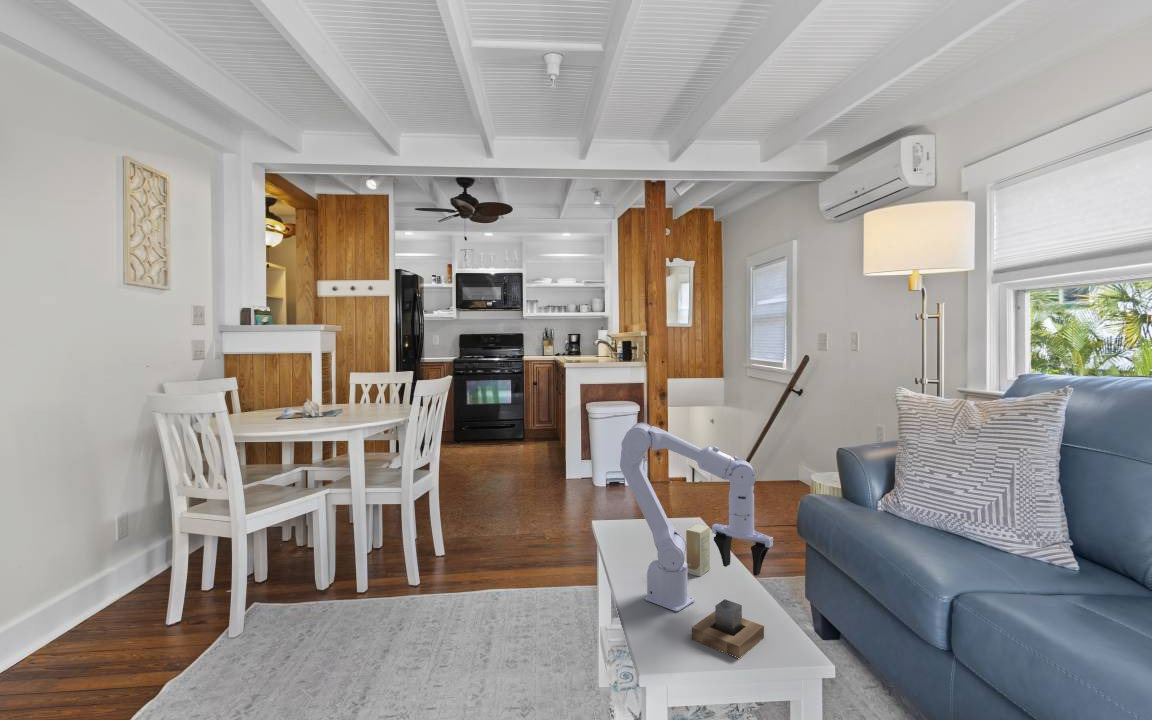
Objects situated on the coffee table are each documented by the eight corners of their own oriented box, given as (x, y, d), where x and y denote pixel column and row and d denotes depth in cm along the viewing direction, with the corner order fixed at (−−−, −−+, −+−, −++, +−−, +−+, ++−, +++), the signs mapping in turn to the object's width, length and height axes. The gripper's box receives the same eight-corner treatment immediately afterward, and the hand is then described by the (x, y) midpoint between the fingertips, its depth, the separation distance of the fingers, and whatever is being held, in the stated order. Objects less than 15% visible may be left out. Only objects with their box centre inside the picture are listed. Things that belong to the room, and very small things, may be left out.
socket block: (691, 638, 116) (691, 627, 116) (717, 620, 124) (717, 609, 124) (739, 659, 108) (739, 646, 108) (763, 637, 116) (764, 626, 116)
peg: (715, 637, 117) (715, 605, 116) (724, 630, 119) (724, 599, 119) (732, 644, 114) (732, 611, 114) (741, 637, 117) (741, 605, 116)
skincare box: (696, 566, 155) (696, 523, 155) (710, 569, 152) (710, 526, 152) (685, 573, 150) (685, 529, 150) (700, 577, 147) (699, 532, 147)
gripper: (778, 515, 126) (778, 573, 127) (722, 503, 137) (722, 556, 137) (765, 522, 121) (765, 582, 122) (707, 509, 131) (707, 565, 132)
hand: (741, 569), depth 129 cm, fingers open, 7 cm apart
